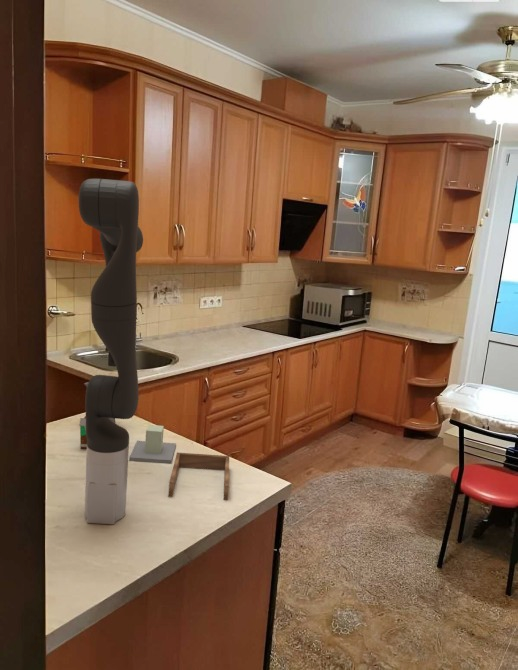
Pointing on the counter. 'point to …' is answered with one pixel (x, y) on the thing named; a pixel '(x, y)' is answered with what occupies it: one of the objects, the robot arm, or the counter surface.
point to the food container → (83, 433)
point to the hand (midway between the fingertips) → (116, 361)
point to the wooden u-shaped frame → (200, 467)
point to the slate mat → (163, 457)
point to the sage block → (154, 439)
